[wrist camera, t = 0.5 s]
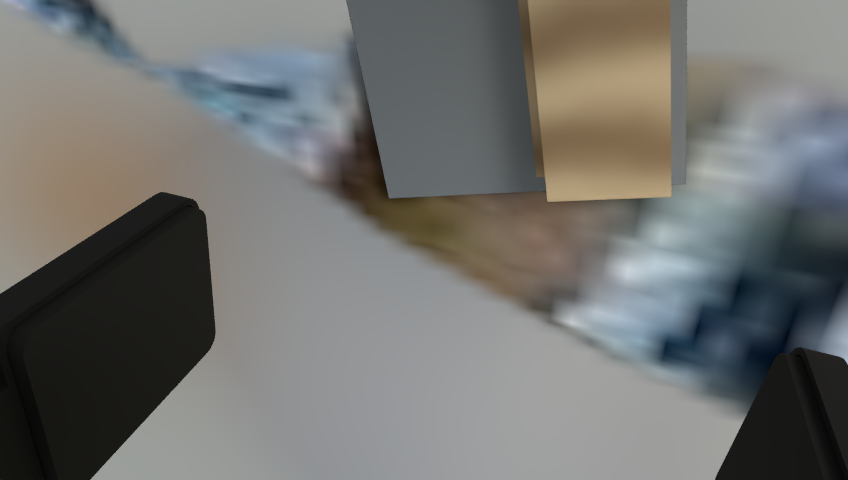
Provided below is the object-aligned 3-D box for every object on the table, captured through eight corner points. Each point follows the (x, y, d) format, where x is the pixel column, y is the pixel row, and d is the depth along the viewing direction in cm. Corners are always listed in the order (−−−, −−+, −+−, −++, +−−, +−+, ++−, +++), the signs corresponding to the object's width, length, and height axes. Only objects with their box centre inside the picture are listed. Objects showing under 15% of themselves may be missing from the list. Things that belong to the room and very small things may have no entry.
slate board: (324, -149, 38) (314, -150, 37) (686, -239, 32) (688, -244, 30) (395, 190, 48) (389, 198, 46) (684, 175, 41) (685, 184, 40)
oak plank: (503, -175, 34) (488, -181, 30) (665, -214, 31) (669, -226, 28) (539, 177, 42) (530, 202, 39) (668, 170, 40) (671, 196, 36)
